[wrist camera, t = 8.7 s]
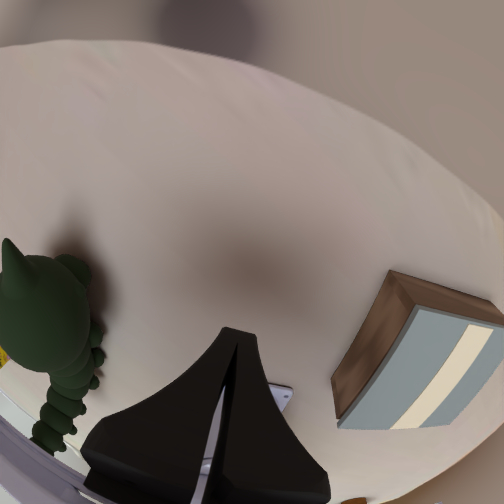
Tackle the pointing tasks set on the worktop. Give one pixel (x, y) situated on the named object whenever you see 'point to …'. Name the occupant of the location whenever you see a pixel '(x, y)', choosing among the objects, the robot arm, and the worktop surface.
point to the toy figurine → (50, 335)
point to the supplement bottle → (3, 357)
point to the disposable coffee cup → (355, 501)
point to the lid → (428, 372)
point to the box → (397, 329)
